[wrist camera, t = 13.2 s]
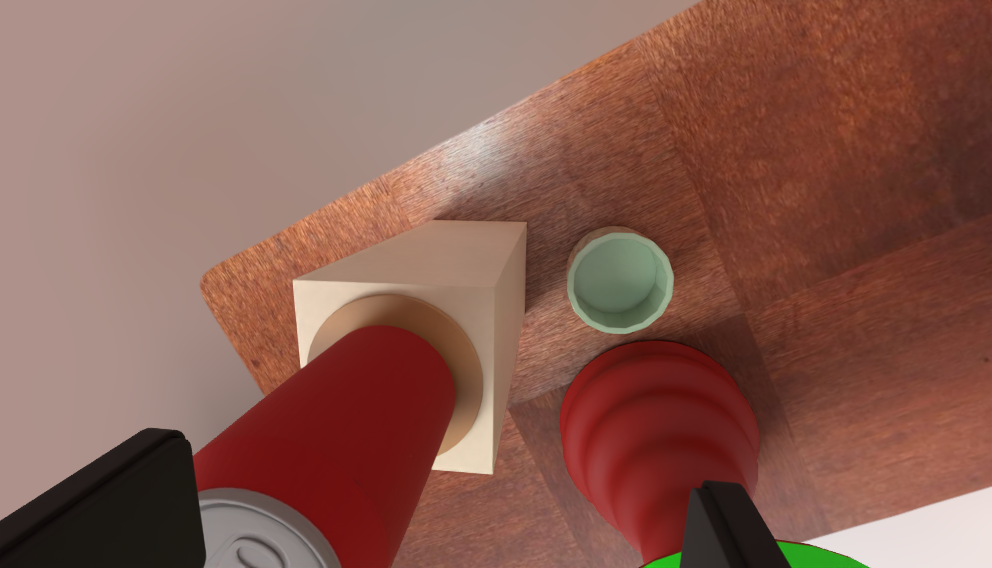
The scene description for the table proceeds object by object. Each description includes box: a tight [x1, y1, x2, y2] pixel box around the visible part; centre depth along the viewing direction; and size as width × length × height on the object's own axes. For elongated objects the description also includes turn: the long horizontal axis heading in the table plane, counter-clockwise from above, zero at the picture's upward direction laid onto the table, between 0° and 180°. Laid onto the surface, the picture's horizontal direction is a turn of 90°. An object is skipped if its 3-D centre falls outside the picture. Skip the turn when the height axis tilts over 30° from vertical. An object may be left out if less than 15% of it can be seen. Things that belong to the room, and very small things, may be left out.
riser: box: [293, 220, 527, 474], centre depth 38 cm, size 10×10×28 cm
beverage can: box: [193, 325, 455, 568], centre depth 18 cm, size 7×7×12 cm
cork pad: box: [307, 294, 484, 457], centre depth 24 cm, size 9×9×1 cm
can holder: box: [566, 226, 674, 334], centre depth 47 cm, size 10×10×6 cm
